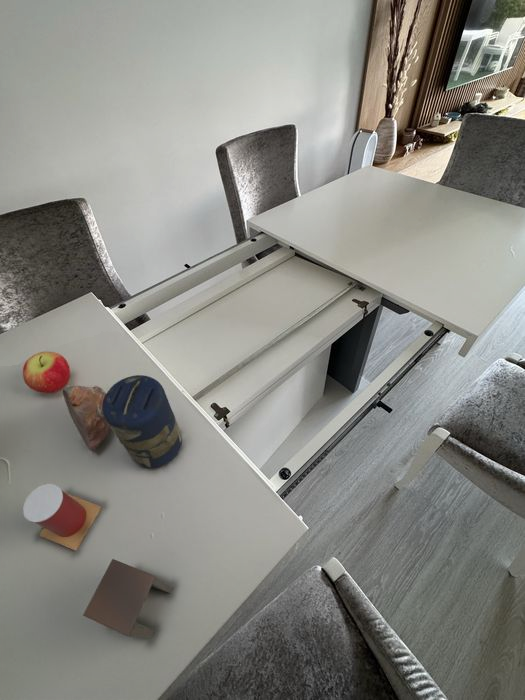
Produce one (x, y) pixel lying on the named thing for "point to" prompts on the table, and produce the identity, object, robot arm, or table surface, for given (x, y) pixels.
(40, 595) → the table surface
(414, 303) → the table surface
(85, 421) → the stone
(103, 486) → the table surface
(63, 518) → the tube
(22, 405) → the table surface
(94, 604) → the brown wooden stand
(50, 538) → the coaster
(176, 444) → the canister
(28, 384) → the apple
